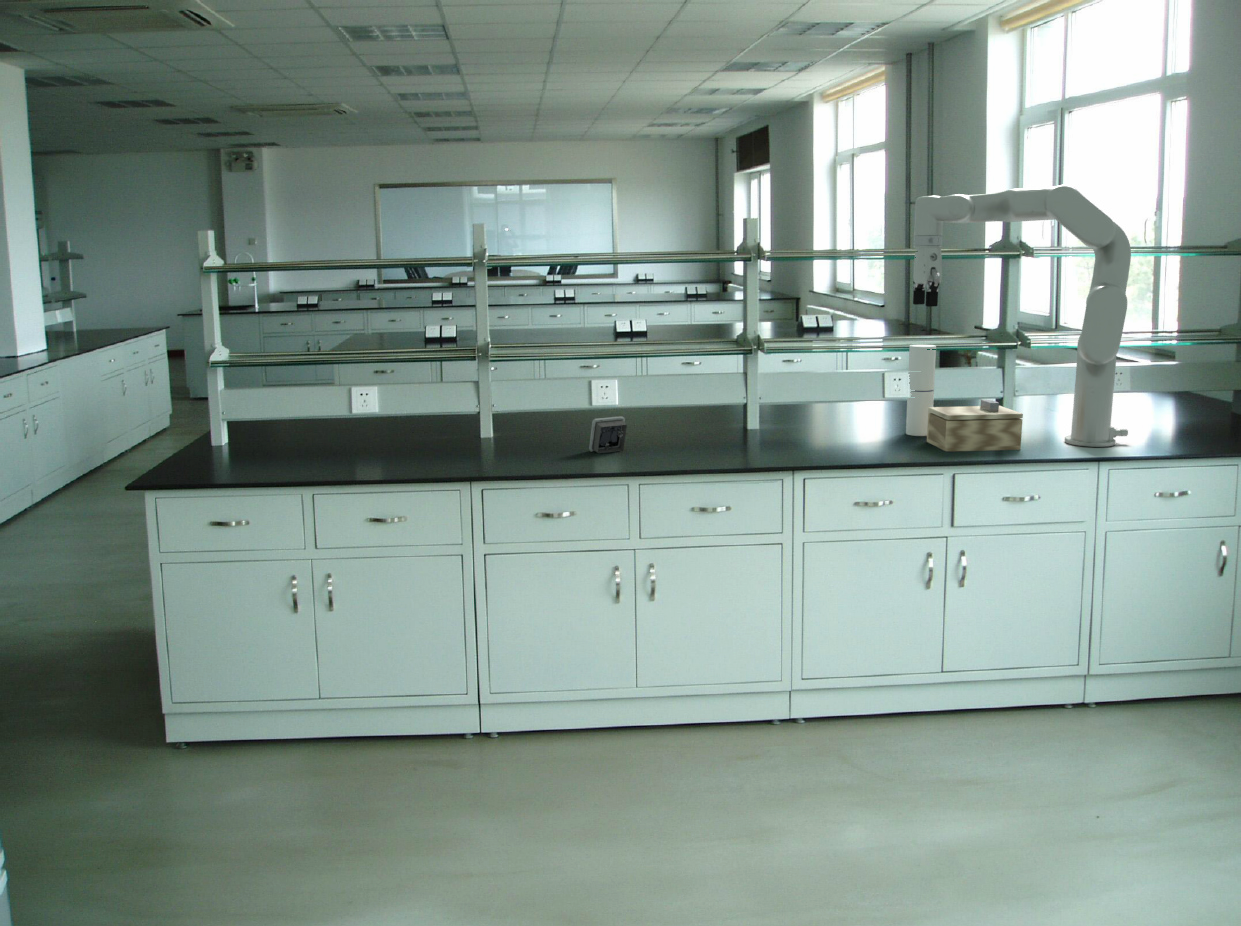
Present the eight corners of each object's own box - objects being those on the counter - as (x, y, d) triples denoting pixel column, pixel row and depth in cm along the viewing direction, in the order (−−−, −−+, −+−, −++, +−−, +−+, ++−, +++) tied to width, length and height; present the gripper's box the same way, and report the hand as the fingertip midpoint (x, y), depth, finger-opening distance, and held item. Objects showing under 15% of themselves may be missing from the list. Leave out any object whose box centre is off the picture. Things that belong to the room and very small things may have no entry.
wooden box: (997, 439, 294) (999, 411, 292) (1020, 449, 280) (1022, 419, 279) (926, 441, 292) (928, 412, 291) (946, 451, 279) (947, 421, 277)
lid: (999, 410, 292) (1000, 396, 292) (1022, 418, 279) (1023, 404, 278) (928, 411, 291) (928, 398, 290) (947, 420, 277) (948, 406, 276)
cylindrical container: (920, 436, 299) (924, 347, 294) (900, 433, 305) (904, 345, 300) (937, 434, 304) (941, 345, 298) (916, 430, 309) (920, 344, 304)
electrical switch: (619, 448, 288) (620, 414, 285) (628, 453, 284) (629, 419, 281) (588, 451, 284) (589, 417, 281) (597, 456, 279) (598, 422, 277)
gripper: (953, 242, 285) (950, 307, 289) (929, 242, 302) (926, 303, 306) (925, 242, 285) (922, 307, 288) (903, 242, 302) (901, 303, 305)
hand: (924, 305), depth 297 cm, fingers open, 9 cm apart
